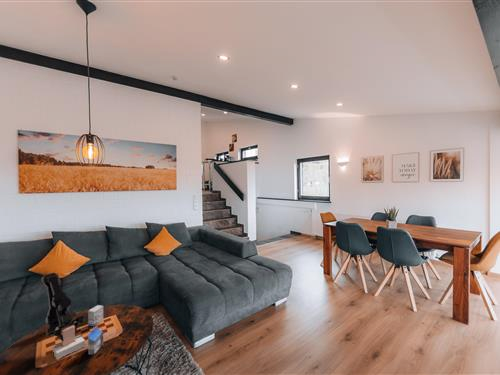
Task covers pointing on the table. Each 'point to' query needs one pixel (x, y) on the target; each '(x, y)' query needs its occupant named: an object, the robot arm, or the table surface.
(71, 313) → the robot arm
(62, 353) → the dispenser
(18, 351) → the table surface
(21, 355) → the table surface
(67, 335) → the pink rectangular block
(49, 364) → the table surface
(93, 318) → the ink box
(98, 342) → the label tape cartridge
